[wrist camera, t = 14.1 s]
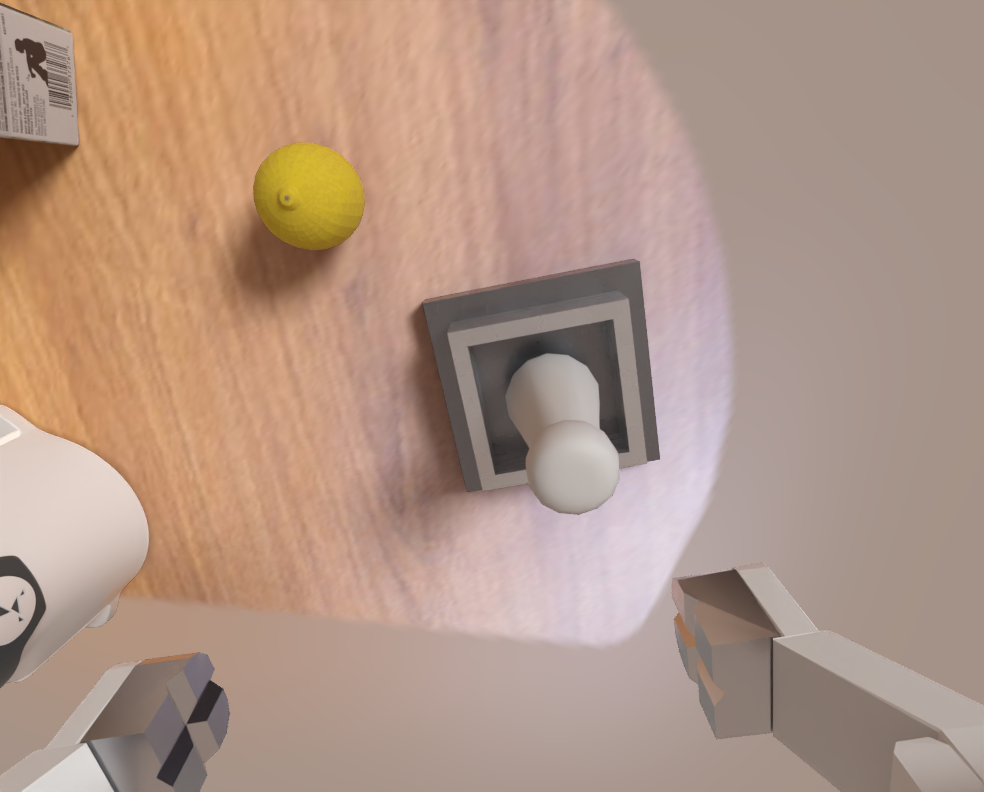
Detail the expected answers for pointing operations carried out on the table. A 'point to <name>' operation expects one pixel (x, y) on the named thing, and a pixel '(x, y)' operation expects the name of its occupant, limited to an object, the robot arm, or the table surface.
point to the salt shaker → (563, 433)
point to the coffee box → (36, 80)
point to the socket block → (531, 333)
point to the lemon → (309, 196)
